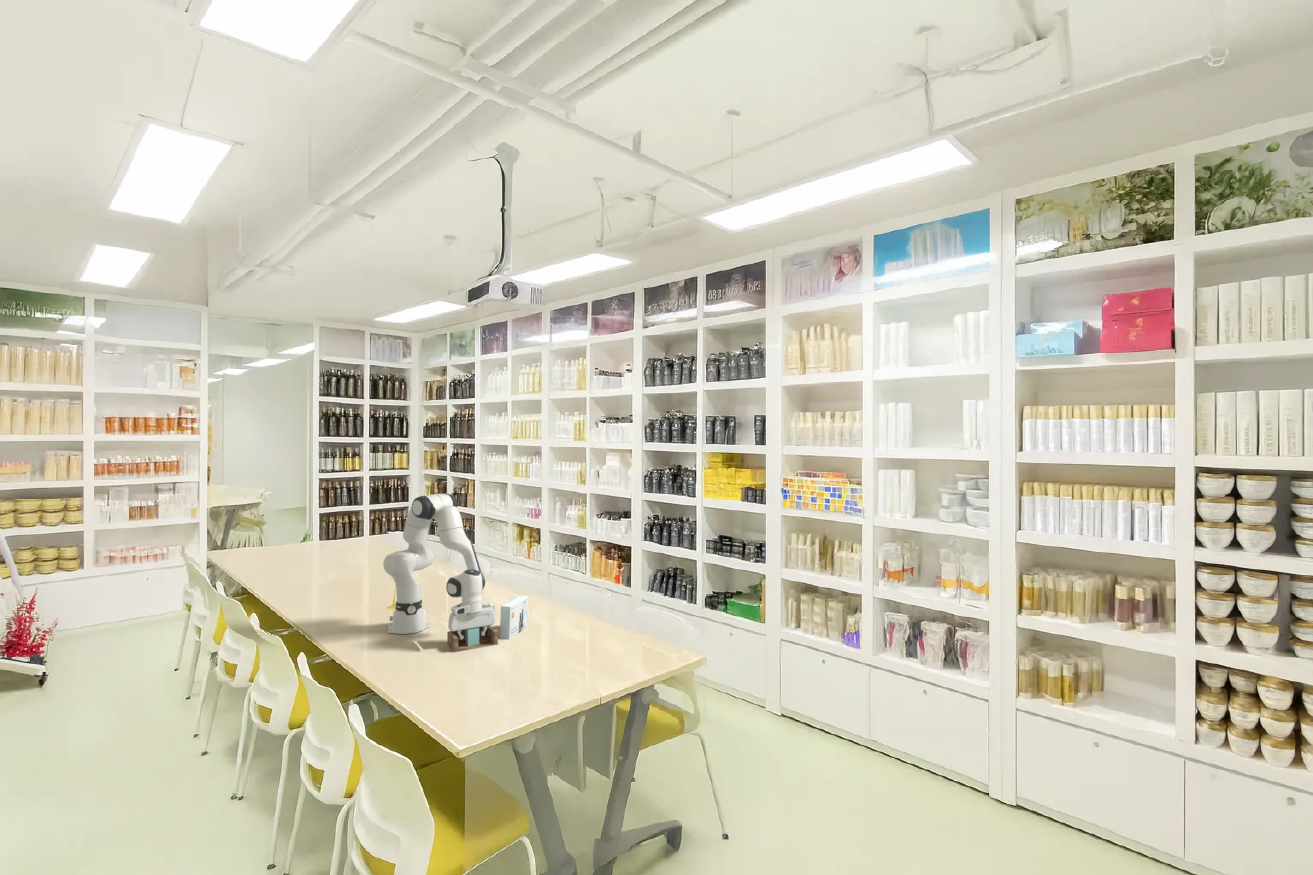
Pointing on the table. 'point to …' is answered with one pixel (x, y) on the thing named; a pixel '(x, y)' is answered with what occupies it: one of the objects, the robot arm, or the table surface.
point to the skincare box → (514, 617)
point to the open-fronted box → (484, 641)
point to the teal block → (472, 636)
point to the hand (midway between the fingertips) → (472, 637)
